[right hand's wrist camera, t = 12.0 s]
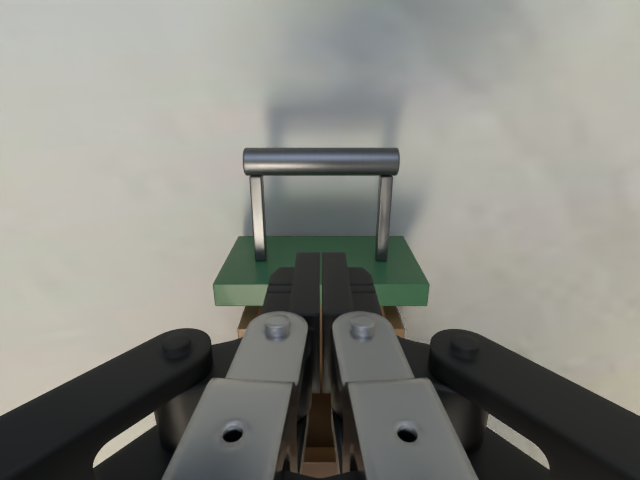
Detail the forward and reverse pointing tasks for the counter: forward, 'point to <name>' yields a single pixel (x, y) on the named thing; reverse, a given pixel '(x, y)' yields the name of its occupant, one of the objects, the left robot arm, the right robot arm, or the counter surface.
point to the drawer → (321, 249)
